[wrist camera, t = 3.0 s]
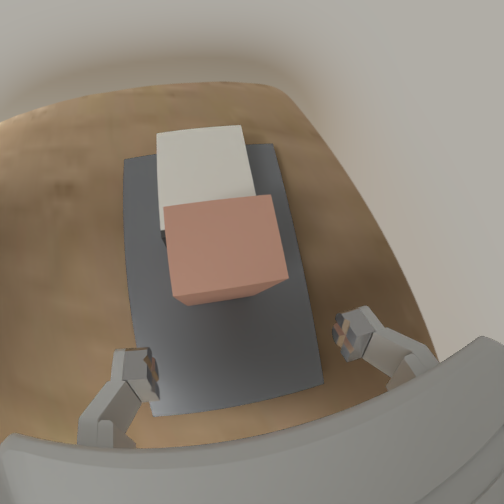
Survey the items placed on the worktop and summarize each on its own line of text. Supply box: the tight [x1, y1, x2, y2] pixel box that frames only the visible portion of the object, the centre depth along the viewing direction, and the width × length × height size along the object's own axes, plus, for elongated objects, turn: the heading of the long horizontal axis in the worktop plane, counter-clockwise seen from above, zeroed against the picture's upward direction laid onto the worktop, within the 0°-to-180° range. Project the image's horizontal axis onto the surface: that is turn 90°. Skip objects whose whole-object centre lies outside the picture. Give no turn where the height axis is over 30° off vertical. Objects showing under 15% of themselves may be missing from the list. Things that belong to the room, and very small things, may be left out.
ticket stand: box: [123, 125, 324, 417], centre depth 20 cm, size 14×22×5 cm, turn 11°
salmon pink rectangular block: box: [163, 194, 289, 306], centre depth 16 cm, size 5×4×9 cm
